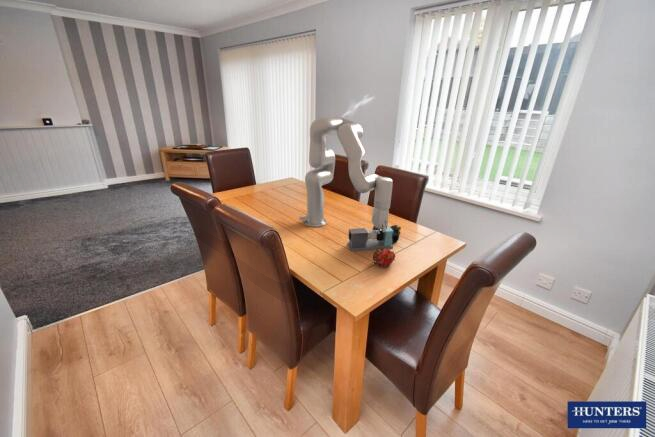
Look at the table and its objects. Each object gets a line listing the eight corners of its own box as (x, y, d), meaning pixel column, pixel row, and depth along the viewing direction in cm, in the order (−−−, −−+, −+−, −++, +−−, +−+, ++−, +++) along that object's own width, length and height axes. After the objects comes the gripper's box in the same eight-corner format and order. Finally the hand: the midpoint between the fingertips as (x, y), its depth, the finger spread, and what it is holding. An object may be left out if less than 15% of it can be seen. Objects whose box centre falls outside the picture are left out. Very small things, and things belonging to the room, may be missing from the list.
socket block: (384, 246, 135) (386, 231, 132) (380, 240, 141) (381, 226, 137) (391, 245, 136) (393, 231, 132) (386, 239, 141) (388, 225, 138)
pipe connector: (389, 219, 155) (408, 230, 143) (388, 228, 157) (407, 239, 145) (373, 224, 150) (392, 235, 138) (372, 232, 152) (391, 244, 140)
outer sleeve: (351, 248, 132) (351, 233, 129) (348, 243, 137) (349, 229, 134) (366, 247, 134) (368, 232, 131) (363, 242, 138) (364, 227, 135)
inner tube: (361, 240, 133) (361, 233, 131) (359, 236, 136) (359, 230, 134) (390, 237, 135) (391, 231, 134) (387, 234, 138) (388, 228, 137)
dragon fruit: (369, 269, 121) (390, 267, 126) (380, 267, 114) (403, 265, 119) (366, 250, 123) (388, 248, 128) (377, 247, 116) (399, 245, 121)
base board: (351, 252, 132) (351, 249, 131) (347, 244, 139) (347, 241, 138) (392, 248, 135) (392, 246, 135) (386, 240, 143) (386, 238, 142)
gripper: (368, 198, 135) (365, 231, 143) (380, 210, 121) (377, 247, 128) (383, 197, 137) (379, 230, 144) (396, 210, 122) (392, 246, 129)
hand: (378, 238), depth 136 cm, fingers closed on inner tube, 3 cm apart
